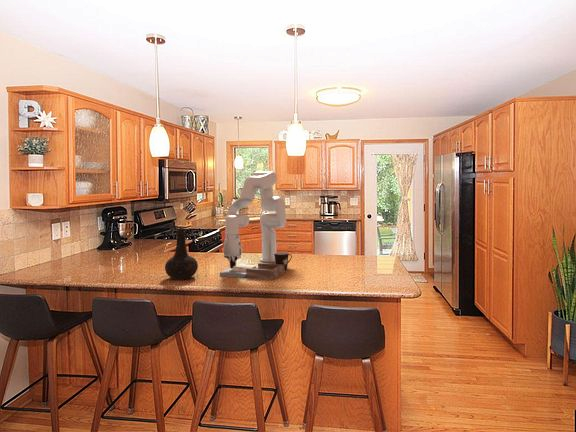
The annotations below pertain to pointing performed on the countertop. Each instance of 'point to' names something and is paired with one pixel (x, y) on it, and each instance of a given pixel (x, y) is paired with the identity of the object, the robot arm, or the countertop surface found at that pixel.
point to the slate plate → (233, 273)
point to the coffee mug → (282, 259)
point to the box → (265, 271)
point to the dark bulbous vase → (181, 260)
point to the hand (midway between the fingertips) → (232, 267)
